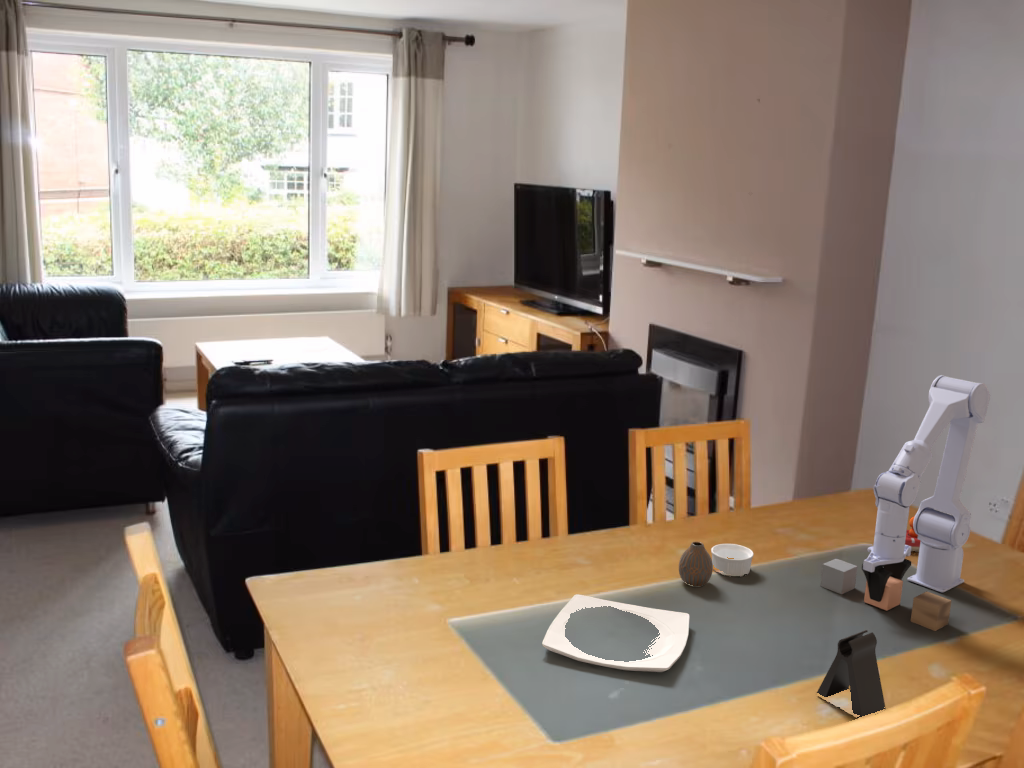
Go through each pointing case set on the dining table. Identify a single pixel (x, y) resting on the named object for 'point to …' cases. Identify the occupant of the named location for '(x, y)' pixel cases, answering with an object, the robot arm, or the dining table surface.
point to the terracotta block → (887, 594)
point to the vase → (695, 565)
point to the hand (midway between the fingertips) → (882, 596)
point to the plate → (667, 622)
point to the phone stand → (856, 674)
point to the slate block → (838, 576)
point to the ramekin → (732, 566)
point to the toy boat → (912, 538)
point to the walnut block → (931, 611)
